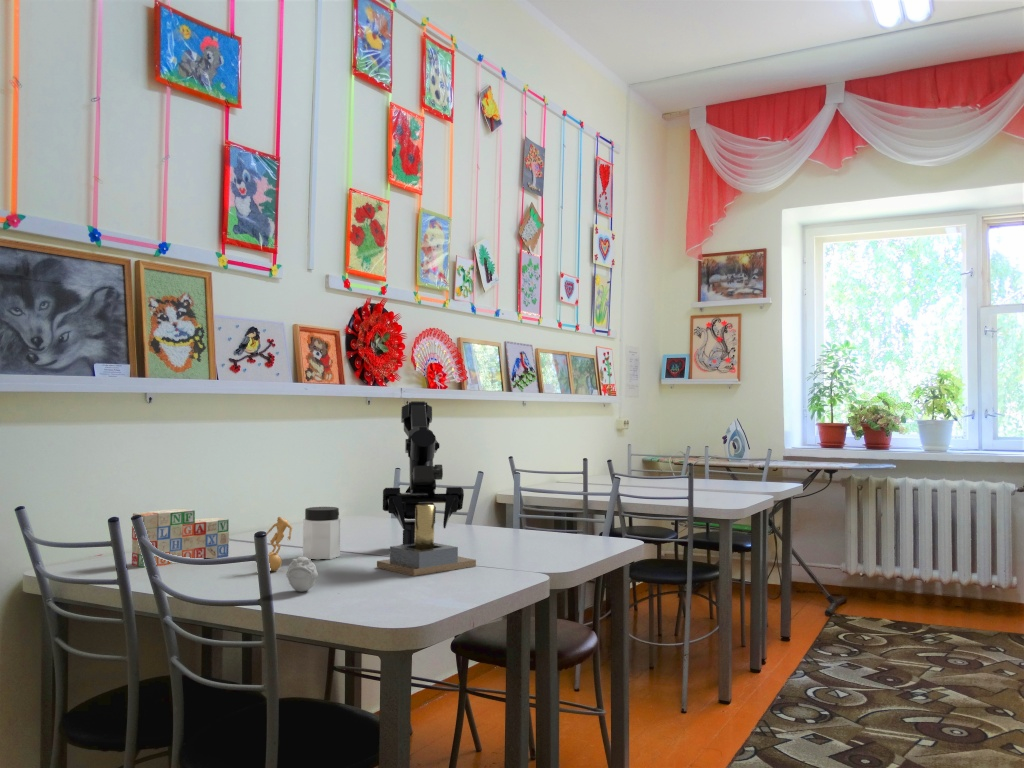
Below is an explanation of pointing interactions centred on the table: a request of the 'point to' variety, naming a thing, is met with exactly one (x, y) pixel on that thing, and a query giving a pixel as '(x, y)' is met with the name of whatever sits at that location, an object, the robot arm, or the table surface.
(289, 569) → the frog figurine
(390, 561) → the jig
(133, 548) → the stack of blocks
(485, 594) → the table surface
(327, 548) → the jar
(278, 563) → the figurine
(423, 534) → the cylinder
